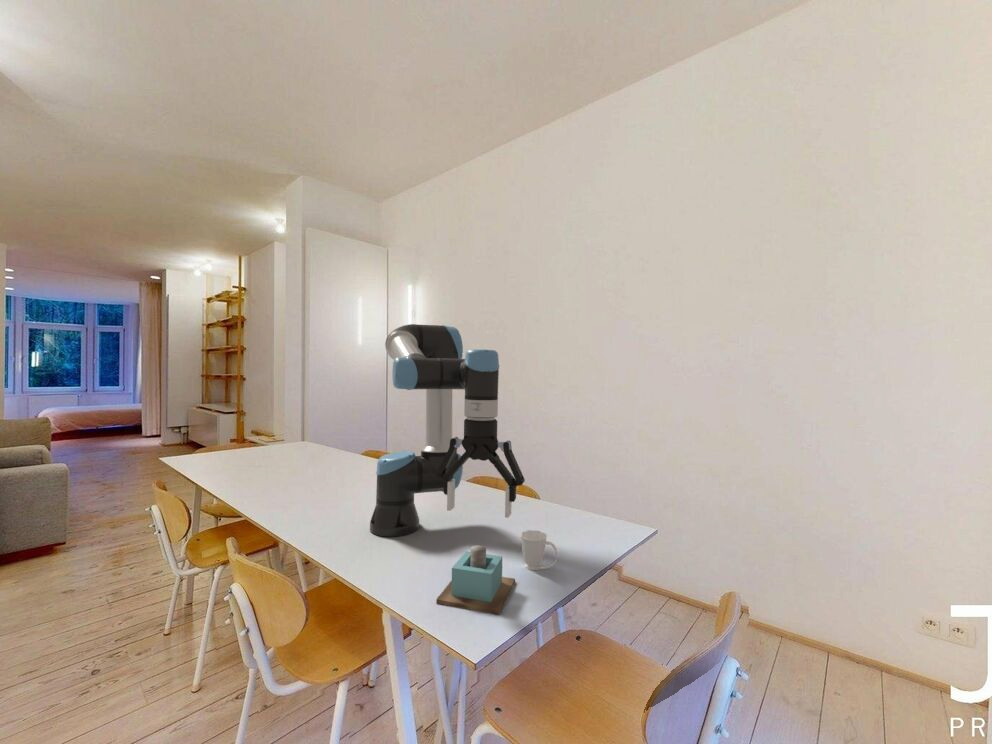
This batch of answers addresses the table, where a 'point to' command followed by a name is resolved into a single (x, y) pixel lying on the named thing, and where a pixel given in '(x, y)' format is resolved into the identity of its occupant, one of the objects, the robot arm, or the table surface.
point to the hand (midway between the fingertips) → (478, 512)
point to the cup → (535, 549)
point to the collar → (476, 578)
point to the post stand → (492, 607)
